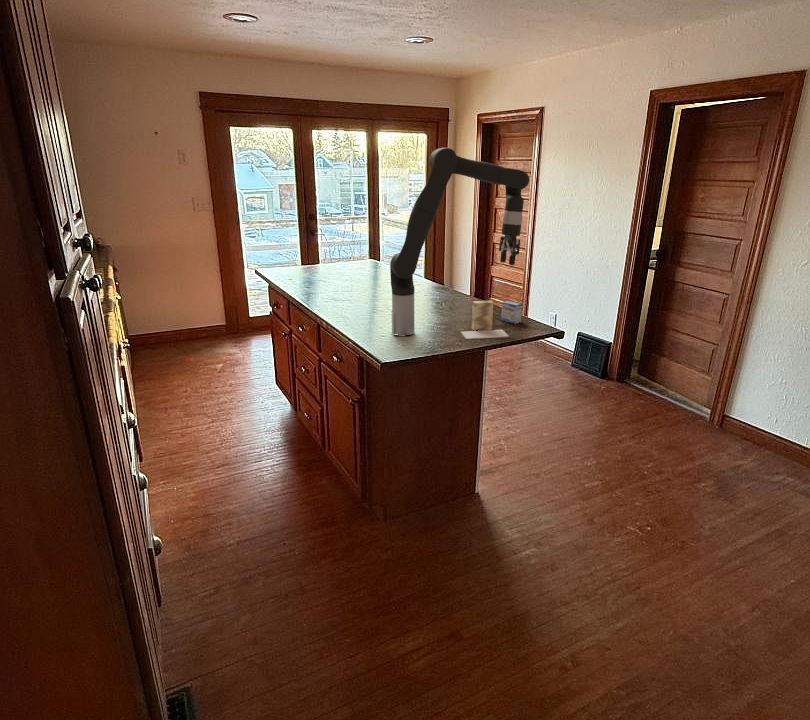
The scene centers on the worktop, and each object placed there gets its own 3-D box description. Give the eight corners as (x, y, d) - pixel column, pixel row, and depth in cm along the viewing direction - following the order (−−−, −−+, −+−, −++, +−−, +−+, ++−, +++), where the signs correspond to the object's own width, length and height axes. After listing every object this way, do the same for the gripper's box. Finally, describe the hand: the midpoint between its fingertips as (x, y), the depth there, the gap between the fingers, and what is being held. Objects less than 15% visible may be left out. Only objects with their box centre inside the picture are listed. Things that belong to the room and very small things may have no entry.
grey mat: (466, 339, 210) (466, 338, 210) (460, 332, 218) (460, 331, 218) (508, 337, 212) (509, 336, 212) (502, 330, 221) (502, 329, 220)
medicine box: (500, 320, 234) (501, 302, 231) (506, 318, 237) (507, 300, 234) (515, 324, 229) (516, 305, 226) (521, 322, 232) (522, 303, 228)
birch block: (473, 330, 221) (474, 303, 216) (471, 328, 224) (472, 301, 220) (491, 329, 222) (493, 302, 217) (489, 327, 225) (490, 300, 221)
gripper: (496, 221, 215) (491, 261, 220) (511, 223, 202) (506, 265, 206) (513, 222, 217) (508, 261, 222) (528, 224, 204) (523, 266, 208)
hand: (507, 263), depth 214 cm, fingers open, 8 cm apart
